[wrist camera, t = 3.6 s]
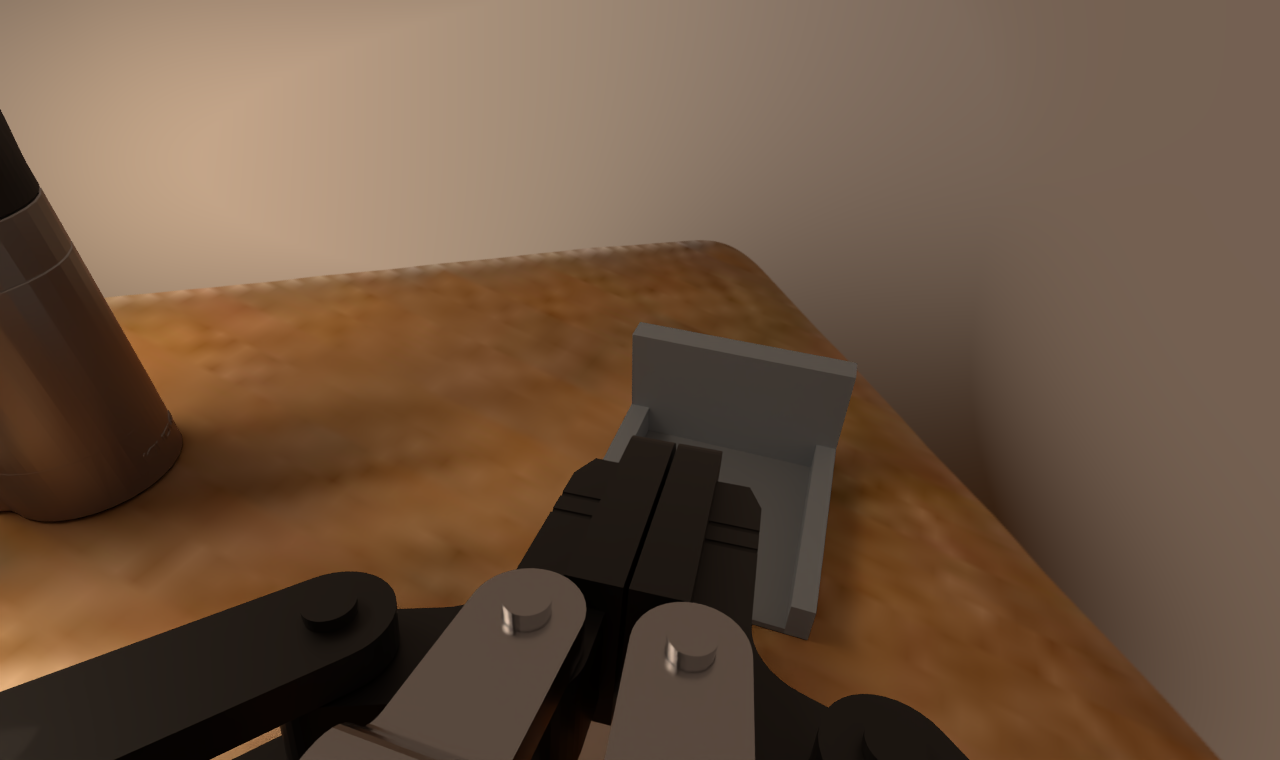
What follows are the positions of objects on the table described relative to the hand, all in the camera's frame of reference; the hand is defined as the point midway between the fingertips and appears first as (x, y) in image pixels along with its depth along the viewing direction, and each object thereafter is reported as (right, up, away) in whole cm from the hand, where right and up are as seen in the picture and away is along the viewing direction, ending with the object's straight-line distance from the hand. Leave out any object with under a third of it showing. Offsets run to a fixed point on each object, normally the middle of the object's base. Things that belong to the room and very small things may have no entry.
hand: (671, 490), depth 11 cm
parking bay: (+3, -6, +28) cm, 29 cm away
